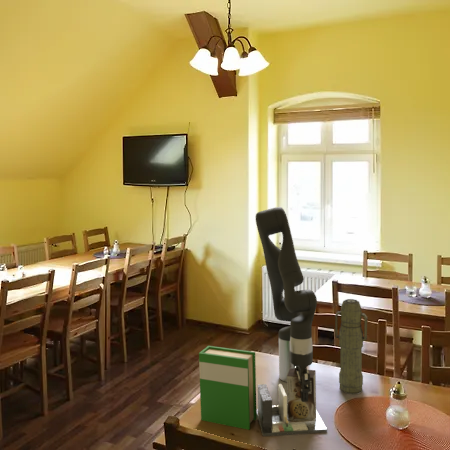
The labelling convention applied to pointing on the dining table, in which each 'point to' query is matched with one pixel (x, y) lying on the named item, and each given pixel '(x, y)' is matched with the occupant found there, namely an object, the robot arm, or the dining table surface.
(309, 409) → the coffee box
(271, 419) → the gauge frame
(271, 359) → the dining table surface
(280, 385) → the paddle
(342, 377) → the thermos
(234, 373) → the hardback book
